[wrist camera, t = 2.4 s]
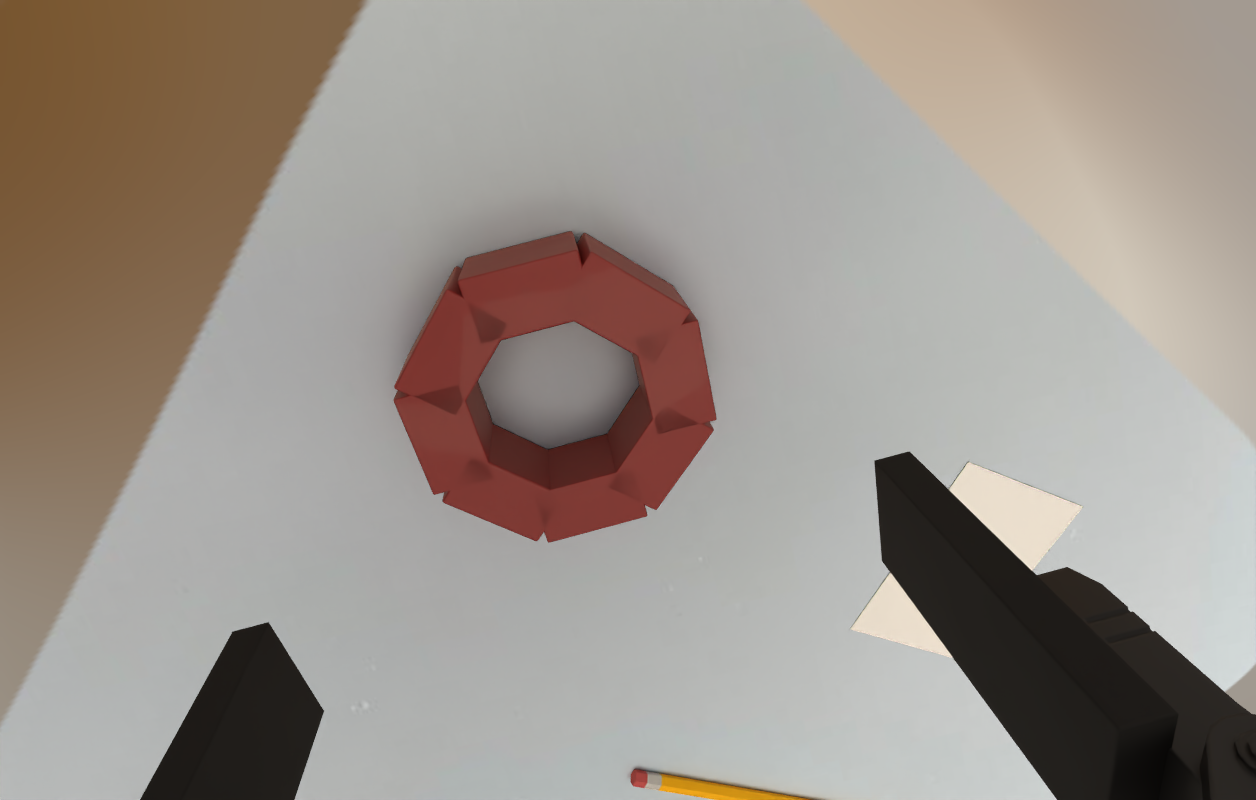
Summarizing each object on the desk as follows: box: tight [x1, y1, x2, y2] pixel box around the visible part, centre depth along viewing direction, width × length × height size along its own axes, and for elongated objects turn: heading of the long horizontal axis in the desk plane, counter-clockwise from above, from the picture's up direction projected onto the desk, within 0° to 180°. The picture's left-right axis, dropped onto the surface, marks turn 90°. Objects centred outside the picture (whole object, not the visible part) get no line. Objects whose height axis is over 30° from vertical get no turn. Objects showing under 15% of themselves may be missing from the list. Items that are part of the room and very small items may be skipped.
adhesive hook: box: [851, 462, 1083, 658], centre depth 31 cm, size 3×3×3 cm
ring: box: [394, 231, 716, 542], centre depth 24 cm, size 11×11×3 cm
